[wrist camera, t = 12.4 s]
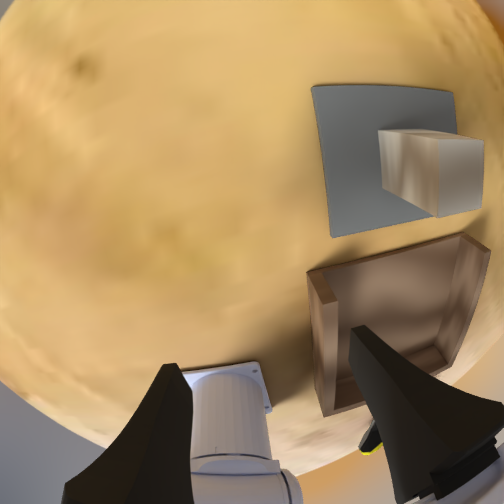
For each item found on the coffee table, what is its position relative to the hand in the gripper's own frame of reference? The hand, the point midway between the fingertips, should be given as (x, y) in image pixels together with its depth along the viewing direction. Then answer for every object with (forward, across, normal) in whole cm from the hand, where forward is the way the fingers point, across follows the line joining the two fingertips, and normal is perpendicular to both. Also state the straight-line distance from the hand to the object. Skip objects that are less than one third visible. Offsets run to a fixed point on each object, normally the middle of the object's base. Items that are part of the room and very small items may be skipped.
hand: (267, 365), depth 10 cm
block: (+9, -12, -6) cm, 16 cm away
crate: (+9, -12, +9) cm, 18 cm away
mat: (+9, -12, -6) cm, 16 cm away
